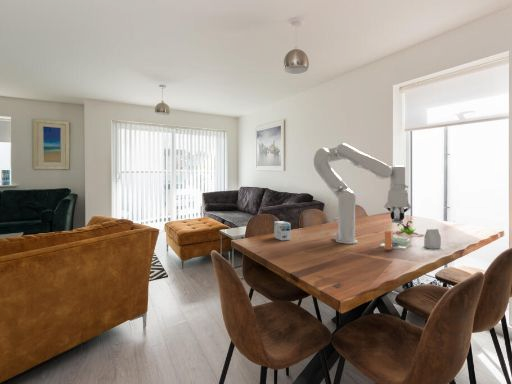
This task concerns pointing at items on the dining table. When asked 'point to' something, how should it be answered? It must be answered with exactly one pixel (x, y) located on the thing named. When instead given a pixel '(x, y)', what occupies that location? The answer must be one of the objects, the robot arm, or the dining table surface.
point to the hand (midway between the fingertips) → (397, 219)
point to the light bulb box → (282, 230)
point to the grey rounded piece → (397, 215)
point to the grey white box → (432, 239)
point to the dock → (399, 243)
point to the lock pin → (389, 240)
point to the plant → (407, 231)
